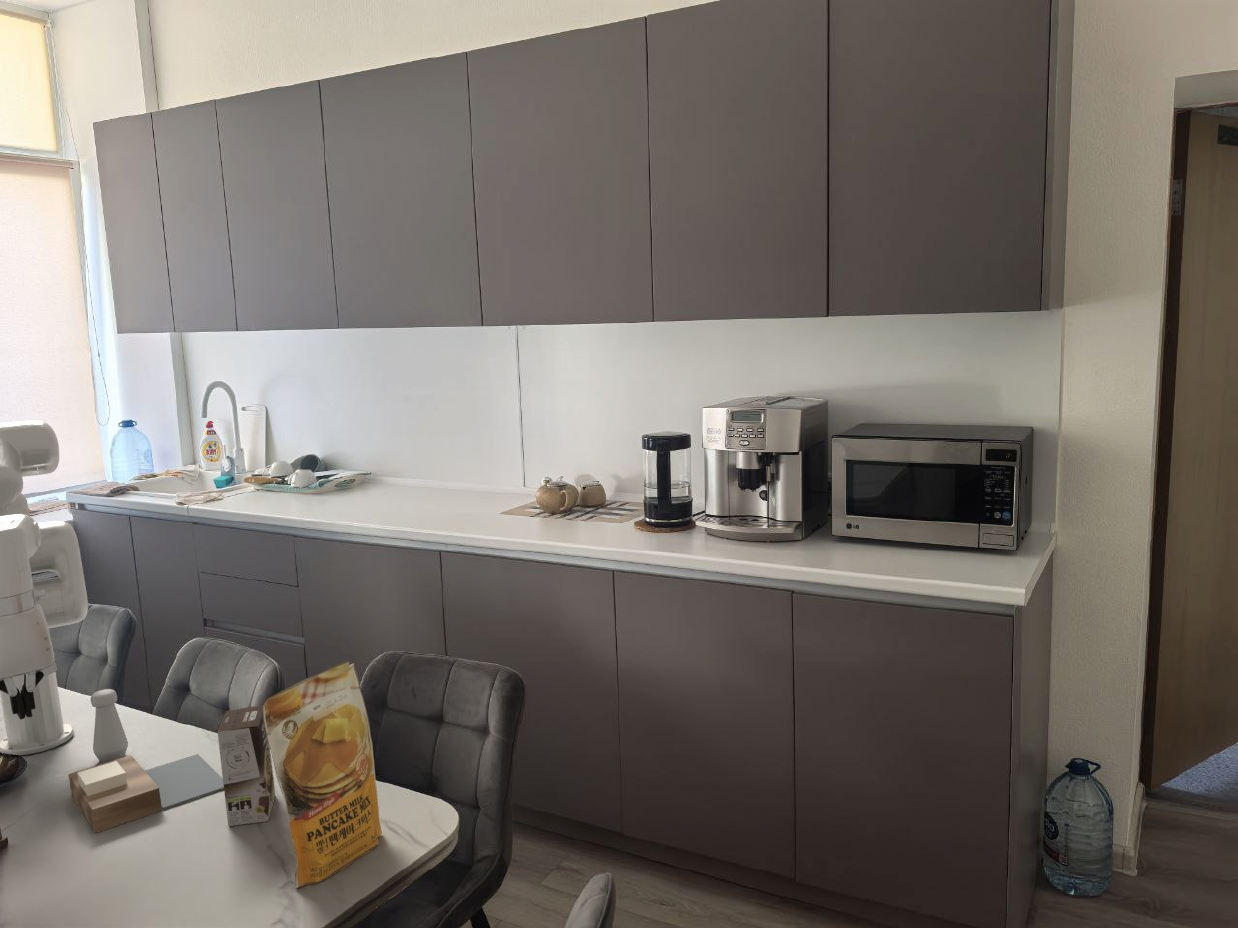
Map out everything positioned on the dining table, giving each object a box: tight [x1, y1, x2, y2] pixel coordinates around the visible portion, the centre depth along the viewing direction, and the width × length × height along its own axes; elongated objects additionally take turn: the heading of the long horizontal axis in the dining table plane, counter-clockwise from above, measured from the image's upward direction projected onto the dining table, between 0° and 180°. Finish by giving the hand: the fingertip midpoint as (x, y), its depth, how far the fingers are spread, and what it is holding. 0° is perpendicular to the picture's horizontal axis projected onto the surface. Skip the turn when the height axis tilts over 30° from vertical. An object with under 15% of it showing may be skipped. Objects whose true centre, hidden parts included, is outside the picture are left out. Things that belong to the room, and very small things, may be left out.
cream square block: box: [77, 761, 127, 796], centre depth 166 cm, size 6×6×2 cm
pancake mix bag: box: [262, 660, 383, 889], centre depth 145 cm, size 7×19×28 cm, turn 147°
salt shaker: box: [90, 688, 129, 764], centre depth 184 cm, size 6×6×13 cm
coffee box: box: [217, 705, 276, 827], centre depth 162 cm, size 9×6×16 cm
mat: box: [144, 753, 224, 811], centre depth 174 cm, size 17×11×1 cm, turn 40°
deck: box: [68, 754, 163, 834], centre depth 168 cm, size 17×10×4 cm, turn 40°
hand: (24, 715), depth 158 cm, fingers closed
